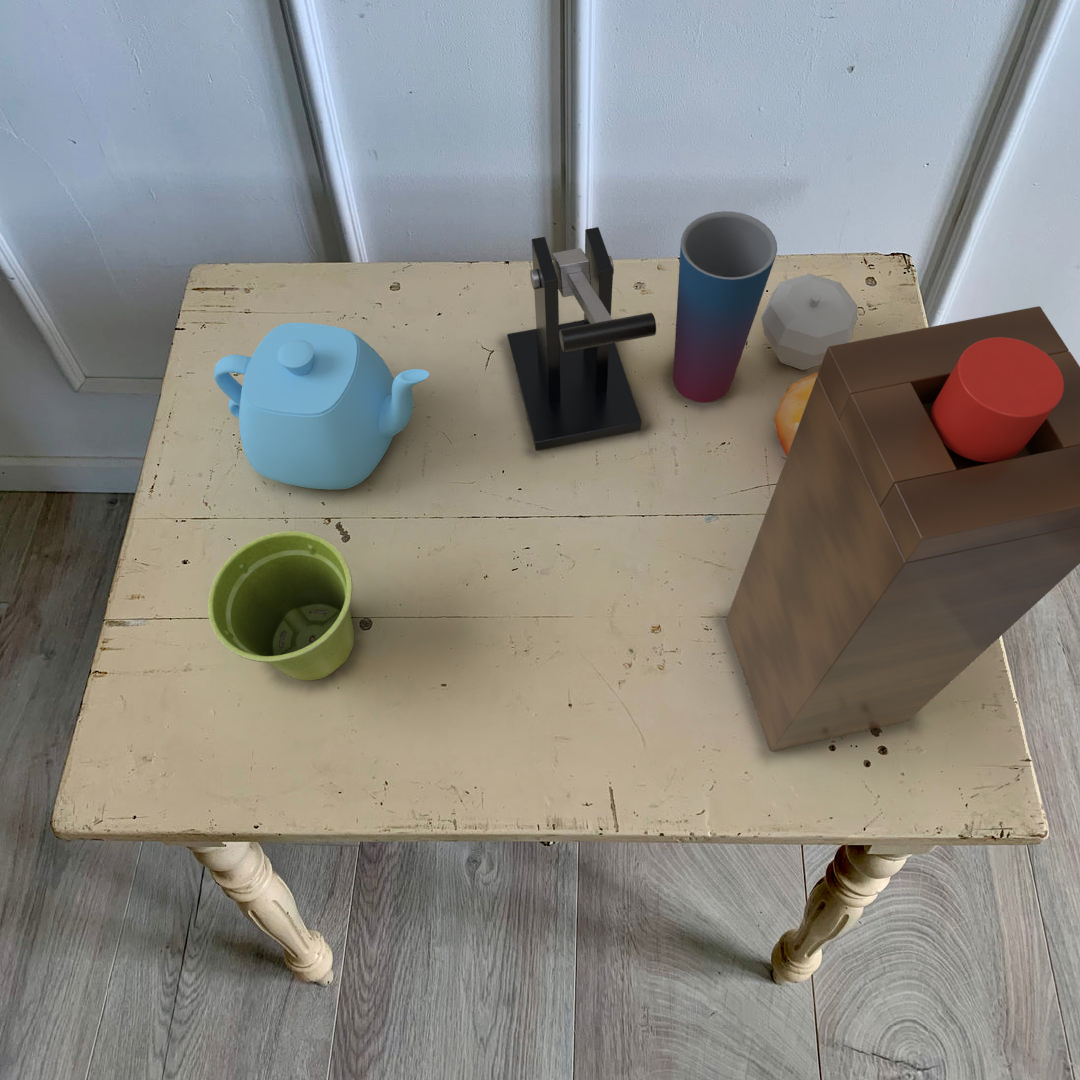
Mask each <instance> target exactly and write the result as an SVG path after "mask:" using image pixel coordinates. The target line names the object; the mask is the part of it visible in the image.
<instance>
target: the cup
mask: <svg viewBox="0 0 1080 1080" xmlns="http://www.w3.org/2000/svg"><path fill="white" fill-rule="evenodd" d="M777 253H778V242H777V239H776V236H775V234H774V233H773V231H772V230H771V229H770V228H769V227H768V226H767V225H766V224H765V223H764V222H762V221H761V220H759V219H758V218H756V217H753V216H752V215H749V214H746V213H744V212H738V211H725V210H721V211H714V212H709V213H706V214H703V215H701V216H699V217H697V218H696V219H694V220H693V221H691V222H690V223H689V224H688V225H687V226H686V228H685V229H684V231H683V232H682V235H681V238H680V248H679V265H678V283H677V297H676V298H677V301H676V316H675V317H676V319H675V336H674V352H673V353H674V354H673V368H672V369H673V370H672V382H673V385H674V387H675V389H676V390H677V392H678V393H679V395H681V396H683V397H684V398H686V399H688V400H690V401H693V402H695V403H696V402H697V403H711V402H715V401H717V400H719V399H722V398H723V397H725V396H726V395H727V394H728V393H729V391H730V389H731V387H732V385H733V381H734V379H735V376H736V373H737V369H738V367H739V364H740V362H741V358H742V355H743V352H744V350H745V347H746V344H747V341H748V338H749V335H750V332H751V329H752V327H753V323H754V320H755V317H756V315H757V312H758V310H759V306H760V304H761V300H762V297H763V295H764V293H765V289H766V286H767V283H768V280H769V277H770V275H771V273H772V268H773V265H774V263H775V260H776V257H777Z"/></svg>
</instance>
